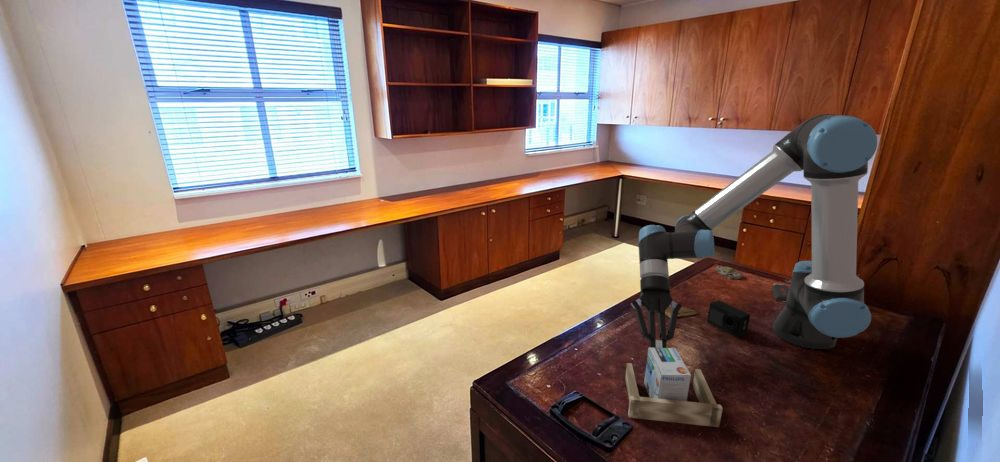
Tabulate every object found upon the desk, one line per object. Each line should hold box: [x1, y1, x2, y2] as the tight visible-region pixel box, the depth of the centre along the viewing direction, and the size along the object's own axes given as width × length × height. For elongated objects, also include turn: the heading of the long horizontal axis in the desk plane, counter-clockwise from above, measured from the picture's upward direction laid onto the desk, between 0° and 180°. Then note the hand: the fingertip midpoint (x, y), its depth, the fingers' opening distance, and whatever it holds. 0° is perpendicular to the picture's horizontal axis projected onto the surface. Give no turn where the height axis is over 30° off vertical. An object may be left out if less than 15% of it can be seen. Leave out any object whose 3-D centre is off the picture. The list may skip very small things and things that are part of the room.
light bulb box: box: [643, 347, 692, 401], centre depth 95 cm, size 11×7×11 cm, turn 176°
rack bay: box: [624, 362, 723, 428], centre depth 95 cm, size 19×13×5 cm
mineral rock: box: [715, 265, 743, 280], centre depth 162 cm, size 11×4×8 cm
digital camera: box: [706, 299, 751, 339], centre depth 124 cm, size 10×5×7 cm, turn 26°
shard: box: [665, 305, 699, 318], centre depth 133 cm, size 11×8×2 cm
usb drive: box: [771, 283, 790, 302], centre depth 145 cm, size 5×12×3 cm, turn 156°
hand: (659, 367), depth 102 cm, fingers closed
